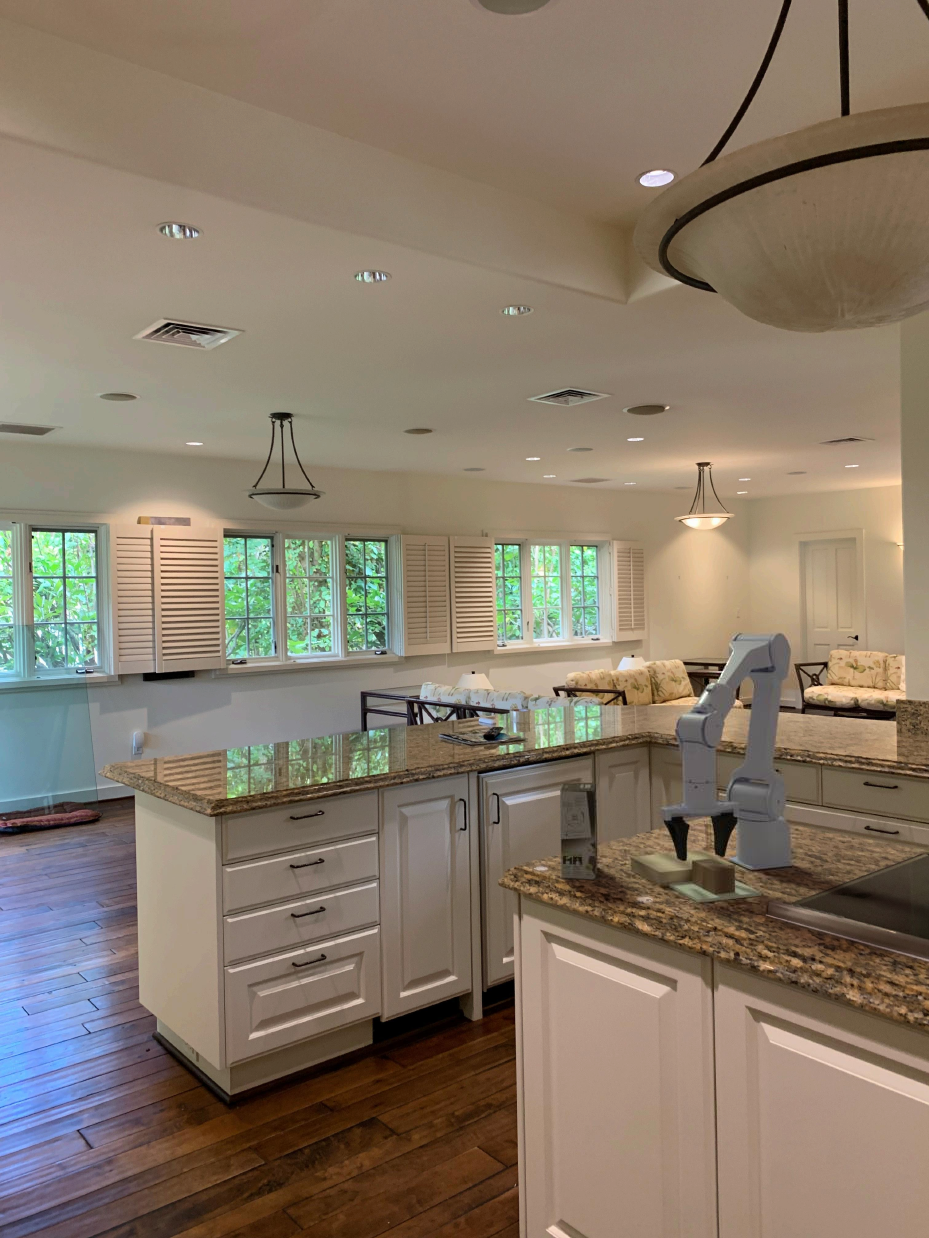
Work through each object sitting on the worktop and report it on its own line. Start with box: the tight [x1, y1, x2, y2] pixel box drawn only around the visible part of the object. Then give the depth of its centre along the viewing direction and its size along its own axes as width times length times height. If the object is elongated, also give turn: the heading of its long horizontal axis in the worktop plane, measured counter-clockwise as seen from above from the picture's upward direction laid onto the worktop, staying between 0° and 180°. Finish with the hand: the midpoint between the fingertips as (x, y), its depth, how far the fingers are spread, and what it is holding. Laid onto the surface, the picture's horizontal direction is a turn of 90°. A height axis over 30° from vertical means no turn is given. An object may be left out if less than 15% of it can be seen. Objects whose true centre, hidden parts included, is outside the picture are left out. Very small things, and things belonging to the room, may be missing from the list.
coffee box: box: [559, 782, 599, 881], centre depth 165 cm, size 9×6×16 cm
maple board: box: [630, 849, 735, 888], centre depth 162 cm, size 15×11×2 cm
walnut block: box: [692, 859, 736, 895], centre depth 152 cm, size 4×4×7 cm
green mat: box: [668, 879, 762, 904], centre depth 152 cm, size 12×10×1 cm
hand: (701, 857), depth 156 cm, fingers open, 7 cm apart
